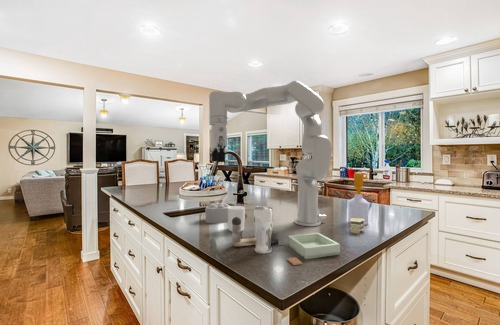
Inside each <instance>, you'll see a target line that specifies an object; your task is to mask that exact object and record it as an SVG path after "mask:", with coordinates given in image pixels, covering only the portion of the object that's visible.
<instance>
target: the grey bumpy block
mask: <svg viewBox="0 0 500 325" xmlns="http://www.w3.org/2000/svg"><path fill="white" fill-rule="evenodd" d="M229 206H230V204H228V203H226V202H218V201H217V202H213V203H210V204H209V205H208V206H205V209H204V210H205V214H204V216H205V221H204V222H205V223H207V224H223V223H228V209H227V208H228V207H229Z"/></svg>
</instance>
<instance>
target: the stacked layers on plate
mask: <svg viewBox="0 0 500 325" xmlns="http://www.w3.org/2000/svg"><path fill="white" fill-rule="evenodd" d="M364 220H365V219H362V218H350V223H349V229H350V234H351V233H352V234H359V235H360V233H361V230H364V229H365V228H366V226H365V225H364V224H365V222H362V221H364Z"/></svg>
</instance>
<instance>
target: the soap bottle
mask: <svg viewBox="0 0 500 325" xmlns="http://www.w3.org/2000/svg"><path fill="white" fill-rule="evenodd" d="M353 179H354V180H353V188H354V189H355V190H356V192H354V197H353V198H351V199H350V200H348V207H347V208H348V212H347V213H348V214H347V219H348V220H347V222H348V223H349V224H350V218H362V219H365V220H364V221H362V222H365V224H364V226H367V225H369V202H368V201H367V200H366V199H365V198H363V193H362V192H361V191H362V189H364V173H362V172H361V173H356V172H355V173H354V174H353Z"/></svg>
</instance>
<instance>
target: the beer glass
mask: <svg viewBox="0 0 500 325" xmlns="http://www.w3.org/2000/svg"><path fill="white" fill-rule="evenodd" d="M252 216H253V218H252V220H253V222H252V224H253V229H254V235H255V236H254V238H256V244H255V245H254V252H255V253H258V254H261V255H263V254H265V255H267V254H270V253H272V251H273V249H272V247H271V234H272V231H273V229H274V228H273V227H274V209H273V207H272V206H266V205H260V206H259V205H258V206H255V207H253V215H252Z"/></svg>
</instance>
